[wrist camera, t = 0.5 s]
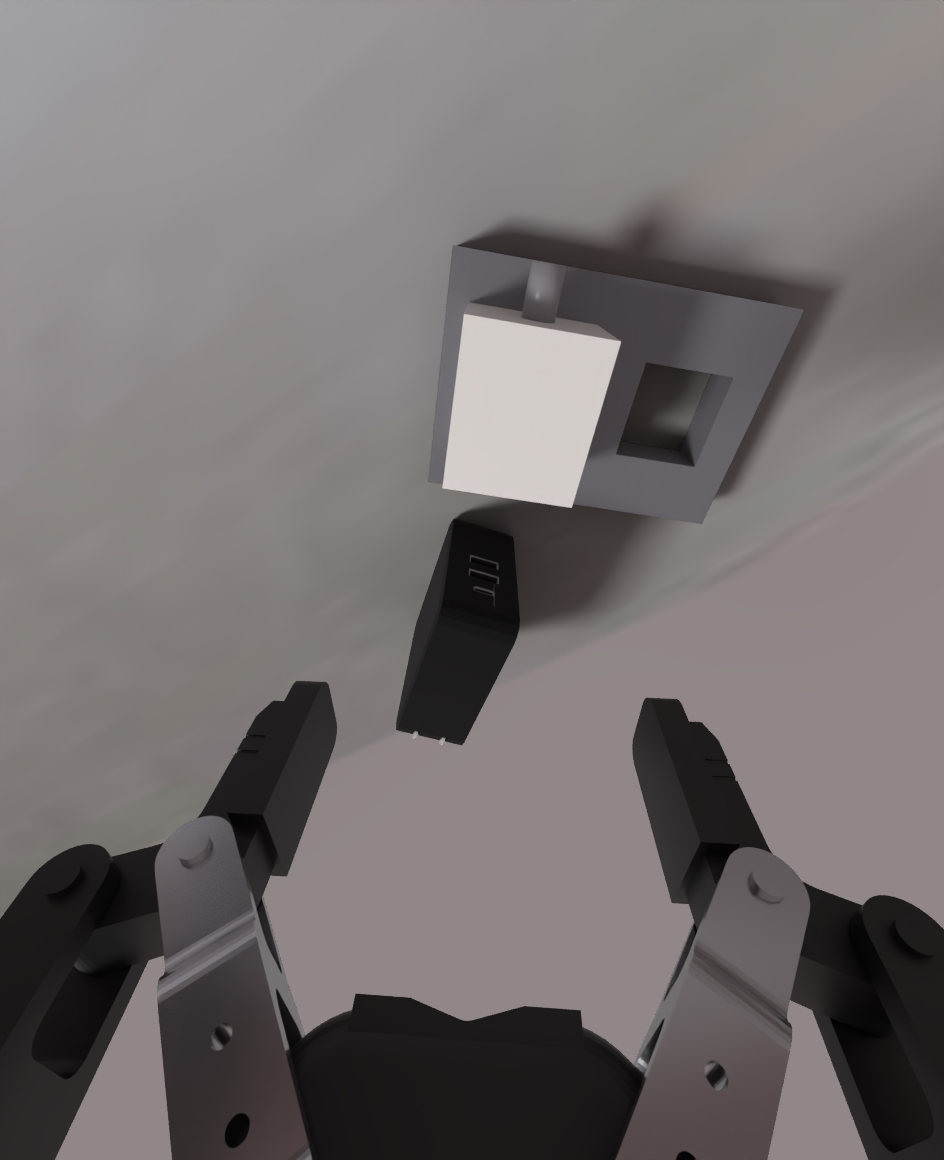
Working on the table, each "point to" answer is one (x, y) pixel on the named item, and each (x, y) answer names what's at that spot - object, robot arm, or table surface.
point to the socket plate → (637, 375)
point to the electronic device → (461, 634)
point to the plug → (527, 396)
